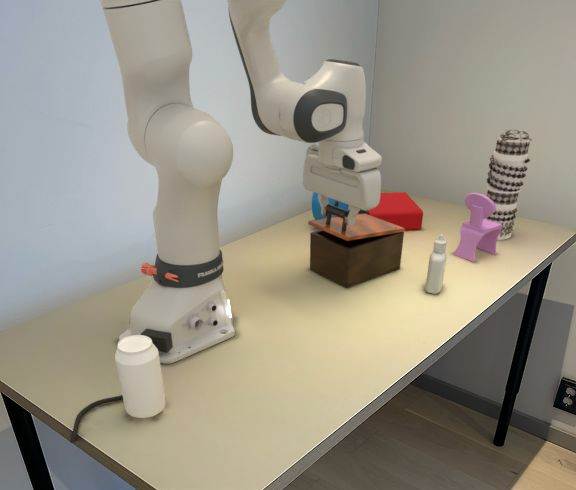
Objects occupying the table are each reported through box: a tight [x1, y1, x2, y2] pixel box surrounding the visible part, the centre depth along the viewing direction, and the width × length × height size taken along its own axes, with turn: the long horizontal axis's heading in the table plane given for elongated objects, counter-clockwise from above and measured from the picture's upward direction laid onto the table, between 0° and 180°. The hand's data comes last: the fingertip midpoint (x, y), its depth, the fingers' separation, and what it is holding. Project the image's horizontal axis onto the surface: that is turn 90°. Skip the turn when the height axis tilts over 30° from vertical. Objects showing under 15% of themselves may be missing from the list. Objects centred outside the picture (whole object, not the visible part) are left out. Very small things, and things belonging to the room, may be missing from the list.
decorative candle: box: [485, 129, 533, 241], centre depth 146 cm, size 9×9×25 cm
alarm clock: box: [311, 192, 350, 220], centre depth 154 cm, size 13×6×15 cm, turn 146°
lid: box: [307, 204, 405, 241], centre depth 127 cm, size 17×13×5 cm
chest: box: [309, 229, 405, 289], centre depth 132 cm, size 17×13×9 cm
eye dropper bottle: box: [424, 234, 448, 295], centre depth 122 cm, size 4×6×12 cm
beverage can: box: [114, 335, 167, 419], centre depth 87 cm, size 6×6×12 cm
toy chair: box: [452, 192, 502, 263], centre depth 137 cm, size 8×9×15 cm
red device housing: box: [358, 191, 424, 231], centre depth 160 cm, size 18×14×5 cm
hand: (338, 219), depth 124 cm, fingers closed on lid, 6 cm apart
